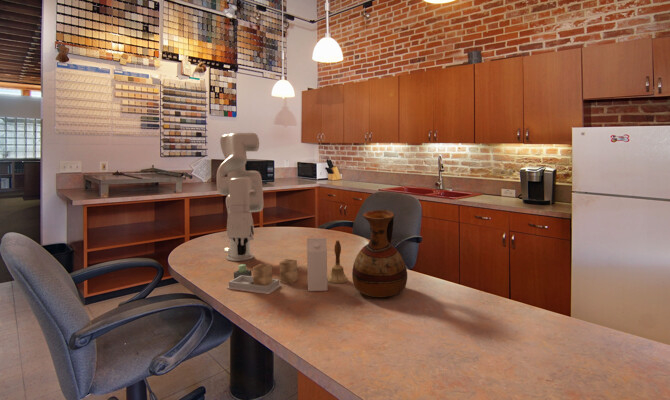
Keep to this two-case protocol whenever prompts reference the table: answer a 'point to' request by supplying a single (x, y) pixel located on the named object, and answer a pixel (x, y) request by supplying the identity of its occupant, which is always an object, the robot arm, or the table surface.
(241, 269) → the button
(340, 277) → the hand bell
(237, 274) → the console
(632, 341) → the table surface
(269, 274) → the block
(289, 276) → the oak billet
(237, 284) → the grey divided tray
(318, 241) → the milk carton
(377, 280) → the ceramic pitcher
